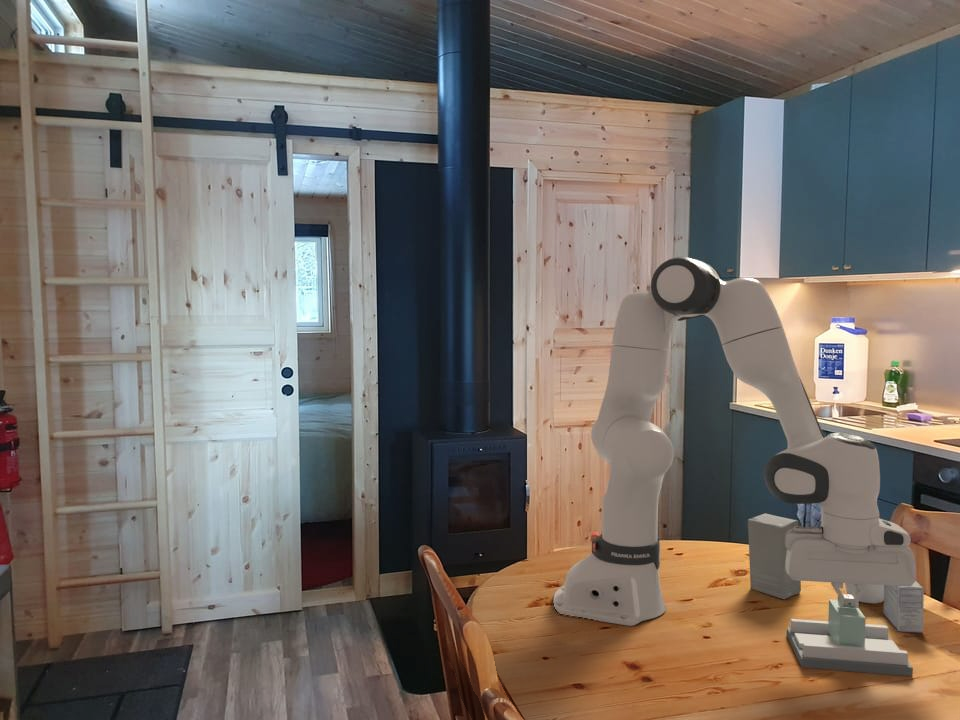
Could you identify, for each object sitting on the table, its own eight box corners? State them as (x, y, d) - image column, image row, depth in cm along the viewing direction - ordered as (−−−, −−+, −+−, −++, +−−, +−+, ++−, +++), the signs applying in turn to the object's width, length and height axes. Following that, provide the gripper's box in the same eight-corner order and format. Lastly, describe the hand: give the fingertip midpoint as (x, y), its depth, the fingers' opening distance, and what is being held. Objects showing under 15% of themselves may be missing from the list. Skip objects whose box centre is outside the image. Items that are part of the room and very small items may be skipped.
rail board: (801, 667, 122) (802, 647, 122) (786, 635, 134) (787, 616, 133) (912, 676, 119) (913, 655, 118) (887, 642, 130) (887, 623, 130)
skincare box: (801, 593, 152) (803, 520, 151) (781, 602, 148) (782, 526, 147) (765, 581, 159) (767, 510, 158) (745, 588, 155) (746, 516, 154)
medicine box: (923, 633, 134) (925, 588, 133) (897, 632, 134) (898, 586, 134) (907, 615, 141) (908, 572, 141) (882, 614, 142) (883, 571, 142)
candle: (865, 586, 156) (866, 557, 155) (900, 602, 147) (902, 572, 147) (831, 591, 153) (832, 562, 153) (865, 609, 145) (866, 578, 144)
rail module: (839, 650, 123) (839, 615, 123) (828, 631, 130) (828, 599, 129) (864, 652, 122) (865, 617, 122) (852, 633, 129) (853, 600, 129)
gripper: (789, 531, 123) (788, 610, 125) (921, 536, 119) (918, 618, 120) (781, 520, 130) (780, 595, 131) (906, 525, 126) (904, 602, 127)
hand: (848, 606), depth 126 cm, fingers closed
